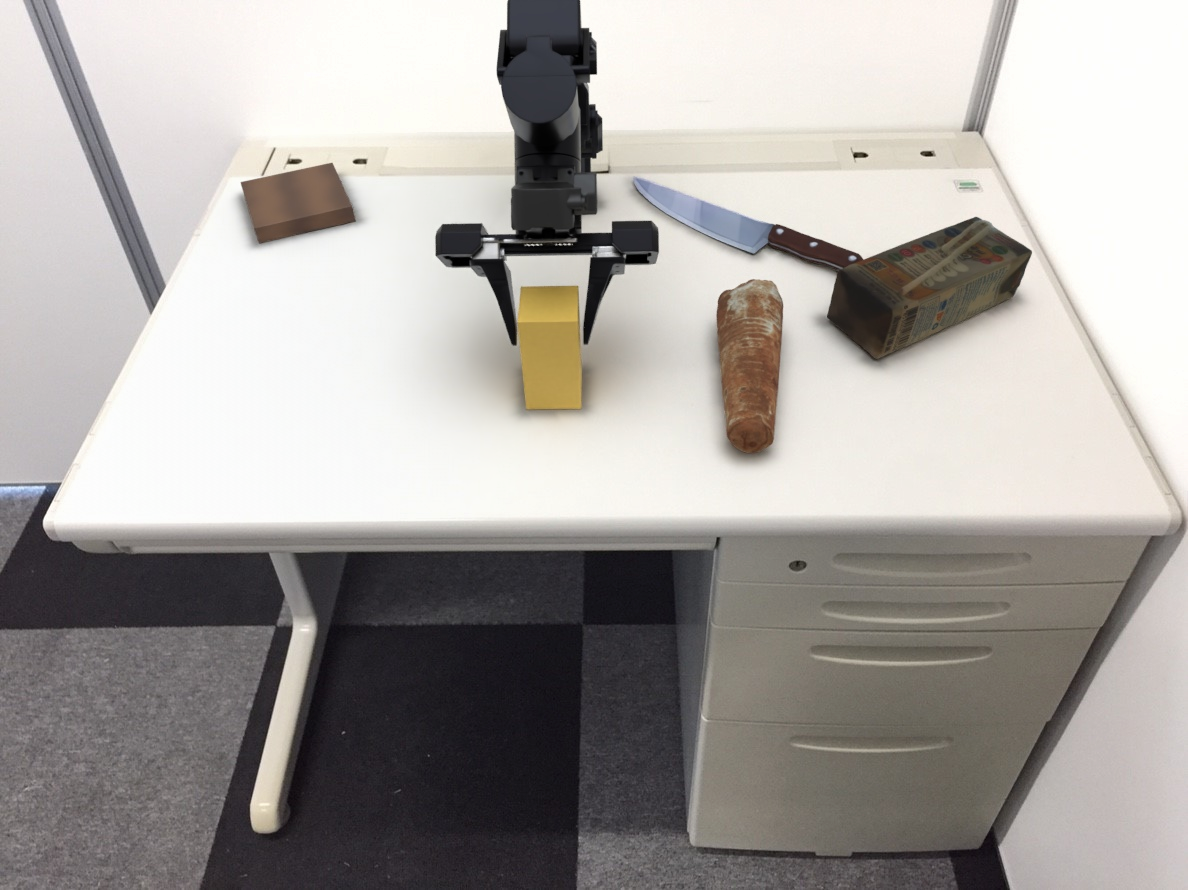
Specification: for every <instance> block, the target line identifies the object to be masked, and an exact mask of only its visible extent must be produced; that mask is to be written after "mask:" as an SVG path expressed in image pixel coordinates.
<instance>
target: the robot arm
mask: <svg viewBox="0 0 1188 890" xmlns="http://www.w3.org/2000/svg"><path fill="white" fill-rule="evenodd" d="M581 7H582V6H581V0H507V2H506V29H500V31H499V38H498V47H497V49H498V51H497V59H496V78H497V81H498V85H499V86H500V89H501V95H502V100H503V102H504V106H505V108H506V109H505V110H506V112H507V116H508V119H509V123H510V125H511V128H512V130H513V135H514V136H513V138H514V139H513V140H514V142H513V143H514V148H513V149H514V185H513V186H512V187H511V188H510V194H511V195H510V196H511V197H510V227H511V230H512V231H515V233H504V234H503V233H500V234H499V233H497V234H496V233H494V234H491V233H490V234H489V232H488V231H487V229H486V227H485V225H484V224H483V223H482V222H481V223H479V222H478V223H477V222H476V223H474V222H473V223H471V222H469V223H442V224H441V225H440V226H439V227H438V229H437V230H436V232H435V237H434V239H435V242H434V243H435V245H434V246H435V247H434V248H435V257H436V258H437V259H438V260H439V261H440V262H441V263H442V264H443V265H444V266H445V267H446V268H452V269H461V268H463V269H464V268H466V269H467V268H470V269H471V270H472V271H473V272H474V273H475V274H476V276H477V277H480V278H486V279H487V281H488V284H489V285H490V288H491V290H492V292H493V294H494V296H495V299H496V301H497V304H498V307H499V310H500V313H501V317H502V319H503V322H504V325H505V329H506V332H507V335H508V338H509V341H510V344H511V346H512V347H517V346H518V323H517V322H518V320H517V313H516V306H515V305H516V304H515V297H514V290H513V289H514V288H513V280H512V279H513V278H512V271H511V269H510V268H509V266H508V264H507V263H506V262H507V261H508V257H543V256H544V257H545V256H547V257H550V256H590V257H589V259H590V260H589V268H588V269H589V270H588V283H587V289H586V297H585V306H584V313H583V314H584V315H583V324H582V338H583V339H582V340H583V346H588V345H589V344H590V340H591V337H592V333H593V330H594V326H595V324H596V320H597V316H598V314H599V311H600V307H601V305H602V301H603V299H604V297H605V294H606V292H607V290H608V288H609V286H610V283H611V281H612V279H613V277H614V276H622V275H624V274H625V271H626V266H651V265H655V264H657V262H658V261H657V260H658V258H659V254H660V235H659V234H660V231H659V227H658V226H657V225H656V224H655V223H654V221H653V220H612V221H611V232H583V230H582V229H583V228H582V226H583V225H582V223H583V221H582V220H583V217H582V216H595V215H597V214H598V180H597V179H598V175H597V172H596V171H595V172H594V171H592V160H595V159H597V158H598V157H597V154H599V153H601V152H603V150H604V145H603V142H604V141H603V140H604V137H603V117H602V116H601V115H600V114H599V113H598V111H599V110H598V109H597V106H596V105H597V104H596V103H590V86H589V84H590V83H591V76H592V75H593V76H596V75H598V50H597V49H598V46H597V44H598V43H597V42H598V41H596V40H595V39H594V38H593V32H592V31H590V27H583V26H582V8H581Z"/></svg>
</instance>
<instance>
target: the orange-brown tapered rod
mask: <svg viewBox="0 0 1188 890" xmlns="http://www.w3.org/2000/svg"><path fill="white" fill-rule="evenodd" d="M715 315H716V328H717V331H716V332H717V334H716V335H717V345H718V346H717V347H718V353H719V354H718V355H719V359H718V361H719V368H720V380H721V393H722V402H723V412H724V419H725V420H724V421H725V433H726V438H727V440H728V442H729V443H730V444H731V445H732V446H733V447H735V448H736V449H738V450H739V451H741V452H744V453H746V454H755V453H758V452H762V451H764V450H765V449H767V448H769V447H770V446H771V445H772V444H773V443H774V440H775V439H774V438H775V429H776V414H777V406H778V405H777V404H778V392H779V381H780V367H781V366H780V364H781V351H782V336H783V323H784V321H783V320H784V300H783V298H782V296H781V294H780V292H779V289H778V287H777V284H776V283H774V282H773V280H767V279H755V278H752V279H749V280H748V281H746V282H743V283H740V284H739V285H738V286H735V288H732V289H726V290H723V291H722V292H721V294H720V295H719V297H718V299H717V308H716V314H715Z"/></svg>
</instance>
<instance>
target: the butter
mask: <svg viewBox="0 0 1188 890" xmlns="http://www.w3.org/2000/svg"><path fill="white" fill-rule="evenodd" d="M579 288H580V287H579V285H536V286H533V285H531V286H530V285H529V286H520V291H519V300H518V301H519V302H518V312H517V331H518V332H517V334H518V341H519V350H520V363H521V372H522V381H523V391H524V401H525V409H526V410H573V409H574V410H581V409H582V392H583V391H582V390H583V387H582V386H583V367H582V366H583V365H582V362H583V361H582V342H581V341H582V339H581V337H582V336H581V314H580V289H579Z"/></svg>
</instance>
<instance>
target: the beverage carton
mask: <svg viewBox="0 0 1188 890" xmlns="http://www.w3.org/2000/svg"><path fill="white" fill-rule="evenodd" d="M1032 255H1033V250H1031V249H1030V248H1028V247H1027V246H1026V245H1024V244H1023V243H1021V242H1019V241H1017V240H1016V239H1014V238H1012V237H1011V236H1010V235H1007V234H1006V233H1004V232H1003V231H1001V230H1000V229H998V228H997V227H995V226H994V225H993V224H992V222H990V221H989V220H986V219H982V218H981V217H979V216H974V217H971V218H969V219H966V220H963V221H961V222H957V223H956V224H952V225H949V226H947V227H944V228H942V229H939V230H935V231H934V232H931V233H930V232H929V234H925V235H923V236H920V237H918V238H915V239H913V240H910V241H908V242H905V243H901V244H899V245H896V246H894V247H892V248H889V249H886V250H884V251H882V252H879V253H877V254H875V255H872V256H869V257H867V258H863V260H861V261H859V262H857V263H854V264H851V265H849V266H847V267H845V268H842V269H839V270H837V272H836V277H835V280H834V284H833V290H832V293H831V297H830V303H829V305H828V311H827V314H826V317H827V319H828V320H829V321H830V322H831V323H833V324H834V325H835V326H836V327H837V328H838V329H840V330H841V331H843V332H844V333H845V334H846V335H847V336H848V337H850V338H851V339H852V341H854V342H855V343H856V344H857V345H858V346H860V347H861V348H862V349H863V350H864V351H866V352H867V353H868V354H870V356H872V357H873V358H874V359H875V360H876V359H880V358H883V357H884V356H888V355H890V354H891V353H894V352H896V351H898V350H900V349H903V348H905V347H908V346H910V345H912V344H914V343H916V342H919V341H920V340H923V339H925V338H927V337H929V336H931V335H934V334H936V333H938V332H941V331H943V330H945V329H947V328H949V327H951V326H953V325H956V324H958V323H959V322H962V321H965V320H966V319H968V318H969V319H970V318H971V317H973V316H976V315H978V314H979V313H982V312H984V311H987V310H989V309H991V308H993V307H994V306H996V305H998V304H1000V303H1003V302H1005V301H1007V300H1010V299H1012V298H1014V296H1015V294H1016V292H1017V290H1018V288H1019V287H1020V286H1021V283H1022V280H1023V278H1024V277H1025V276H1024V275H1025V273H1026V270H1027V267H1028V264H1029V262H1030V261H1031V260H1030V259H1031V258H1032Z"/></svg>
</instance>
